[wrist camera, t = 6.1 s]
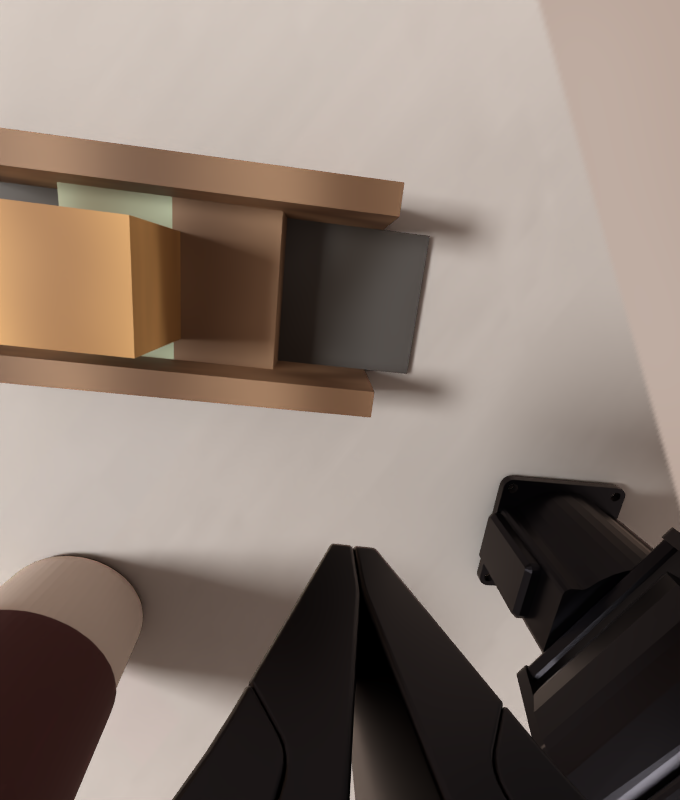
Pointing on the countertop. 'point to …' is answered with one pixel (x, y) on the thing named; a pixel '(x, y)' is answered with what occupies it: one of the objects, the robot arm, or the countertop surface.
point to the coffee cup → (60, 671)
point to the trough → (238, 275)
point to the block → (87, 280)
